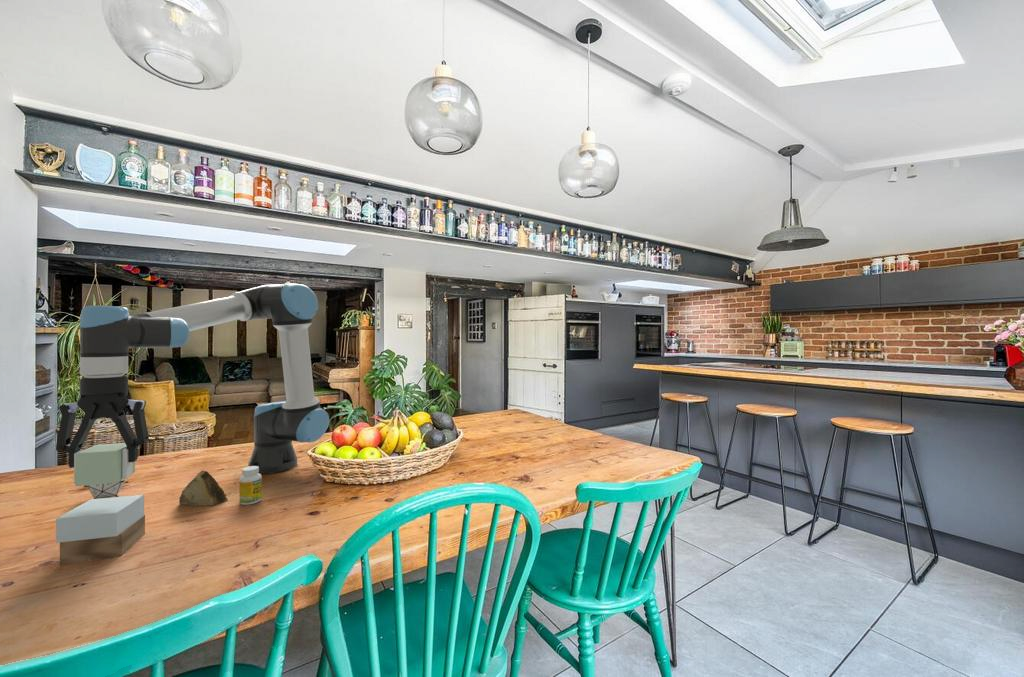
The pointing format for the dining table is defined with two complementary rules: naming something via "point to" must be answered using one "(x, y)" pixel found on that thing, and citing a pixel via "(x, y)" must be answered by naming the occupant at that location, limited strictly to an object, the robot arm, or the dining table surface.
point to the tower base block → (102, 545)
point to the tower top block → (99, 518)
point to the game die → (106, 489)
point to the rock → (202, 491)
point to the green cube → (100, 464)
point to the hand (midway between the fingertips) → (104, 478)
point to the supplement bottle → (250, 486)
